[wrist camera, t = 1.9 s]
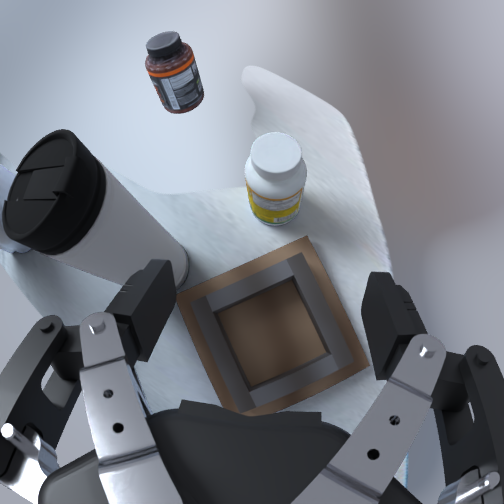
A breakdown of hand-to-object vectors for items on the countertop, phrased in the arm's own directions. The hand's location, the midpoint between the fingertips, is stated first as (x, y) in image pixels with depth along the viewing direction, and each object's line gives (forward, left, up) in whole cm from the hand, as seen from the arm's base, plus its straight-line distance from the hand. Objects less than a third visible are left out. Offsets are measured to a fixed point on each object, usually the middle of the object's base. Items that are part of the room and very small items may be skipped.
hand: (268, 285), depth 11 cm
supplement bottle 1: (+1, +30, -17) cm, 35 cm away
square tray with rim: (-1, -2, -17) cm, 17 cm away
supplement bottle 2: (+5, +10, -17) cm, 20 cm away
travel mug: (-8, +9, -17) cm, 21 cm away
